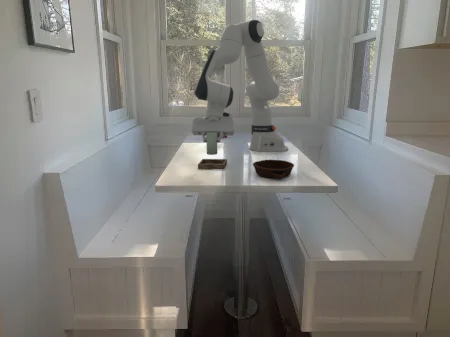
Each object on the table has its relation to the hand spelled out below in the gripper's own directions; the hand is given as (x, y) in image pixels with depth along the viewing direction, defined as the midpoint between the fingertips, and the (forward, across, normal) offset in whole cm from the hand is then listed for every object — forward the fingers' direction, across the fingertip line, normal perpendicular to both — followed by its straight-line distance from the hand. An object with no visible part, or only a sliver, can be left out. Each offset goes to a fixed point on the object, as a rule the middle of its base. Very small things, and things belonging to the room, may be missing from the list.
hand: (211, 141), depth 165 cm
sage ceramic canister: (+4, 0, +5) cm, 6 cm away
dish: (+17, +28, 0) cm, 33 cm away
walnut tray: (+8, 0, +9) cm, 12 cm away
